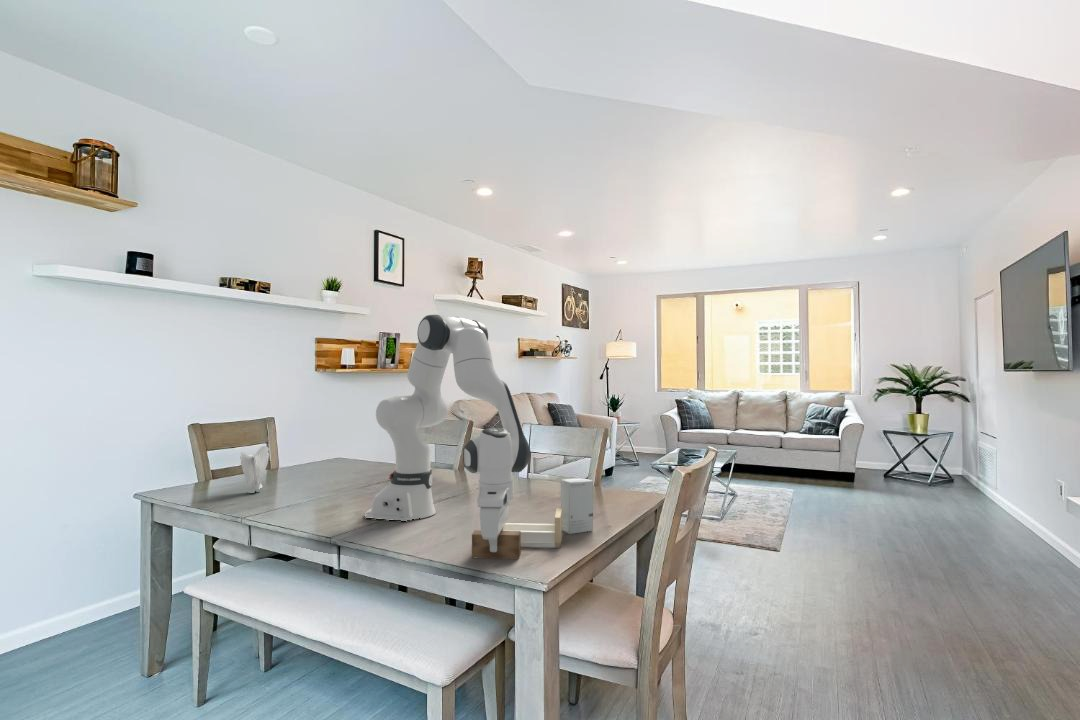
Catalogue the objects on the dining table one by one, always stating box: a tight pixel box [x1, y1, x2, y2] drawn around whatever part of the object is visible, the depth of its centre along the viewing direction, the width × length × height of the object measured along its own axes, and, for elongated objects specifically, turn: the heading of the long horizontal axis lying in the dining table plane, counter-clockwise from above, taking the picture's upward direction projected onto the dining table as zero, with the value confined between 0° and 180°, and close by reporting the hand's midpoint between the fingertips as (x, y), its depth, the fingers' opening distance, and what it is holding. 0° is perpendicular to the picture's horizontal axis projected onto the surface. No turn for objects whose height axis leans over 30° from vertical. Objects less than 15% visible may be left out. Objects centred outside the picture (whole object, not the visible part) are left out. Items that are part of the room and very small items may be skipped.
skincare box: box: [560, 477, 594, 535], centre depth 161 cm, size 8×6×15 cm
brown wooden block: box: [471, 529, 522, 560], centre depth 140 cm, size 12×4×6 cm, turn 85°
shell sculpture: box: [240, 445, 270, 490], centre depth 212 cm, size 8×8×18 cm
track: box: [503, 507, 563, 549], centre depth 151 cm, size 20×10×8 cm, turn 85°
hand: (496, 546), depth 140 cm, fingers open, 6 cm apart
